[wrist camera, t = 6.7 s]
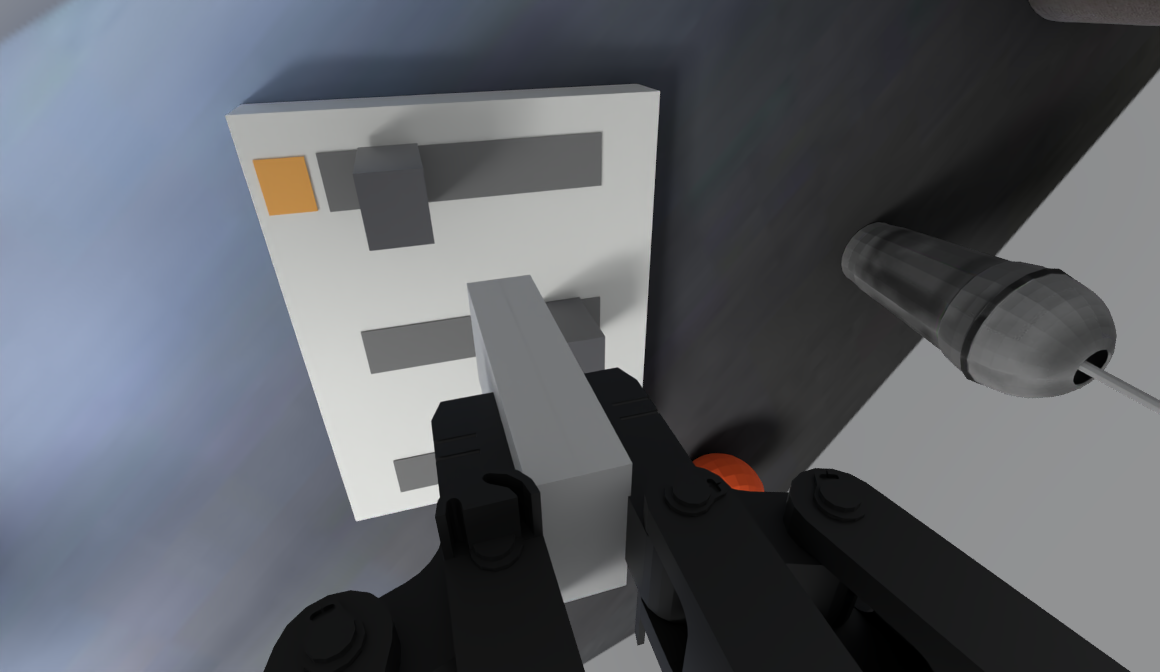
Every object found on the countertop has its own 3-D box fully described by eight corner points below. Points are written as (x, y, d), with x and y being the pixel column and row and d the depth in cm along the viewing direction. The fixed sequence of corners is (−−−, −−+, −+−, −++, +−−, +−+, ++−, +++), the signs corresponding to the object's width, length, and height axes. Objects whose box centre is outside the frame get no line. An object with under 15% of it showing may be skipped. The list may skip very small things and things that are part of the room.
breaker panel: (358, 487, 37) (352, 584, 31) (241, 104, 25) (192, 138, 19) (623, 430, 42) (665, 505, 36) (637, 83, 29) (704, 105, 23)
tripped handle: (371, 214, 25) (369, 250, 22) (357, 147, 24) (352, 174, 20) (427, 209, 26) (434, 243, 22) (417, 143, 24) (422, 168, 21)
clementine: (654, 512, 48) (691, 583, 42) (644, 457, 44) (684, 526, 38) (737, 480, 49) (785, 545, 43) (735, 424, 45) (787, 486, 39)
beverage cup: (877, 304, 43) (1181, 490, 27) (807, 289, 40) (1099, 488, 24) (930, 214, 40) (1309, 362, 24) (857, 192, 37) (1232, 342, 21)
